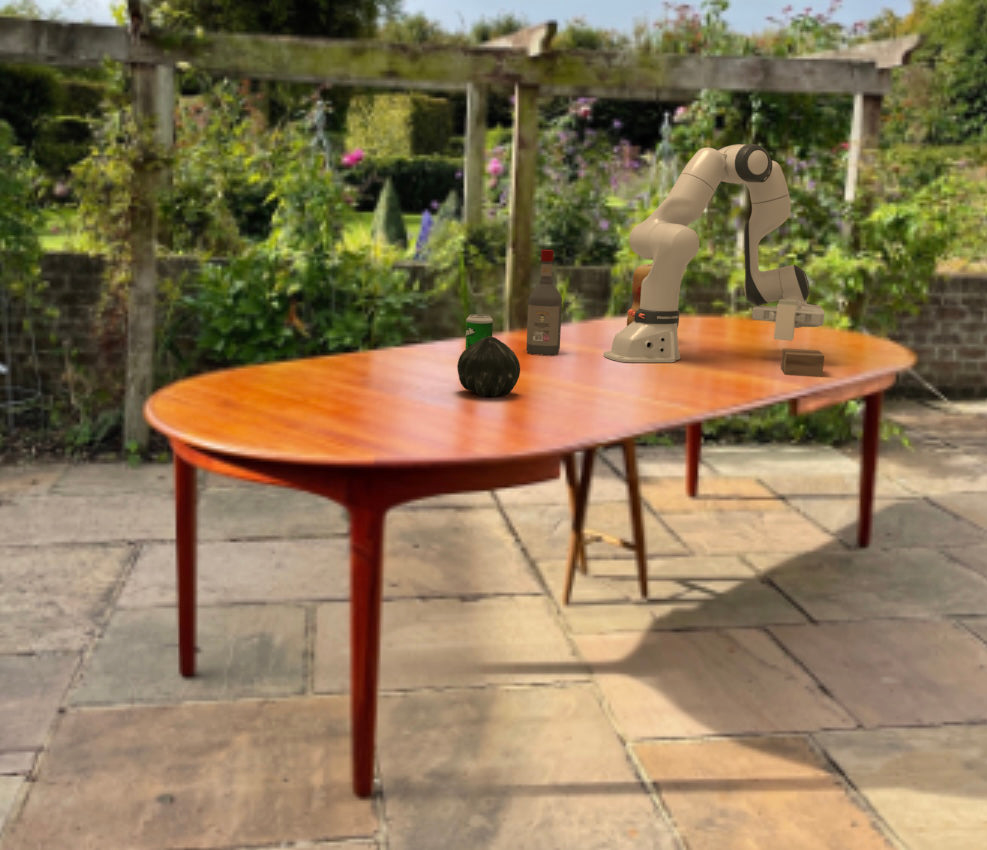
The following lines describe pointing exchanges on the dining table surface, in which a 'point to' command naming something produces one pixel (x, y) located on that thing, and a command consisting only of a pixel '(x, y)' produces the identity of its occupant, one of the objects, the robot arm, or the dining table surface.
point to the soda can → (478, 328)
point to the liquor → (544, 312)
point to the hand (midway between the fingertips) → (785, 318)
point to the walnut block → (802, 362)
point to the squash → (488, 368)
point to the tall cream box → (785, 320)
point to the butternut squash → (638, 287)
